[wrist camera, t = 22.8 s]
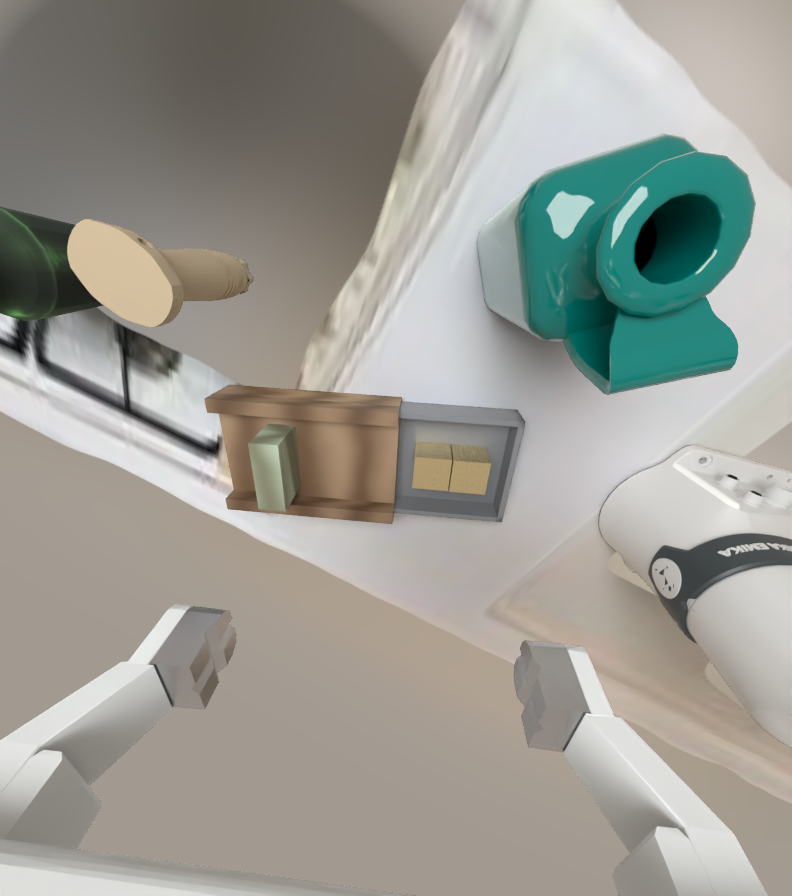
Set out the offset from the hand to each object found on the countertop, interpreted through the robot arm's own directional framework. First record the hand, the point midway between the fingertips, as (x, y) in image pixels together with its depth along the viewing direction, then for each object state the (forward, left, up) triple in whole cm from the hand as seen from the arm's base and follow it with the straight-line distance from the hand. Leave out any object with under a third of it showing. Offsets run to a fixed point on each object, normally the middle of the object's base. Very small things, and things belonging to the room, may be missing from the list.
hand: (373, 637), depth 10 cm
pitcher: (-10, -10, -31) cm, 34 cm away
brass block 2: (-5, +10, -28) cm, 31 cm away
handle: (+18, -8, -31) cm, 37 cm away
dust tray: (-6, +10, -31) cm, 33 cm away
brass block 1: (-3, +10, -30) cm, 32 cm away
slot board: (+11, +10, -31) cm, 35 cm away
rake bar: (+14, +11, -28) cm, 33 cm away
